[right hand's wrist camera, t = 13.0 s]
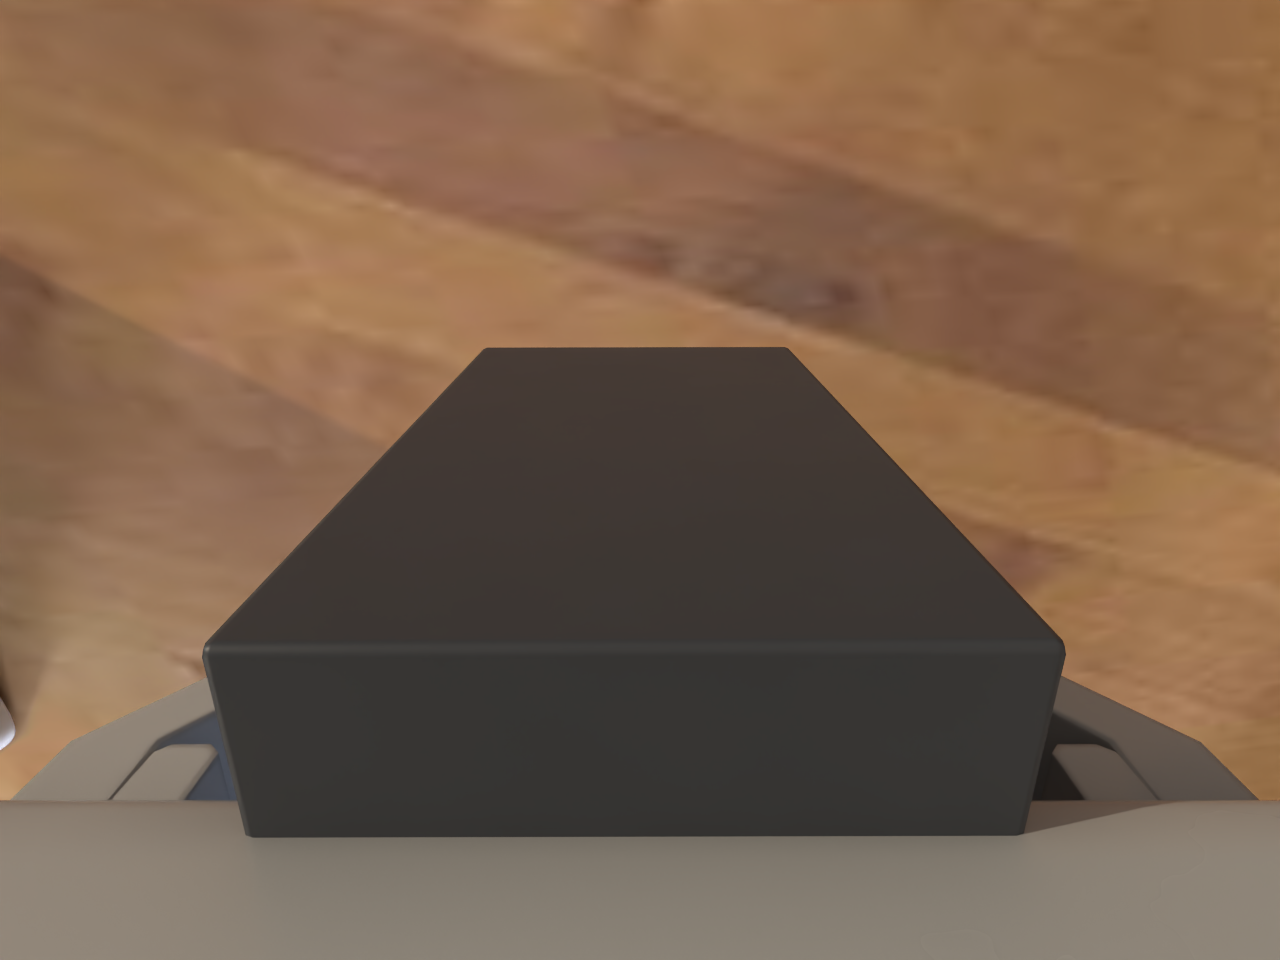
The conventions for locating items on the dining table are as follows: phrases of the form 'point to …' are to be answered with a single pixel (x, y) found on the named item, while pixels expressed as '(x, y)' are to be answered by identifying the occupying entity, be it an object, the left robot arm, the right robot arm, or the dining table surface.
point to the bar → (634, 624)
